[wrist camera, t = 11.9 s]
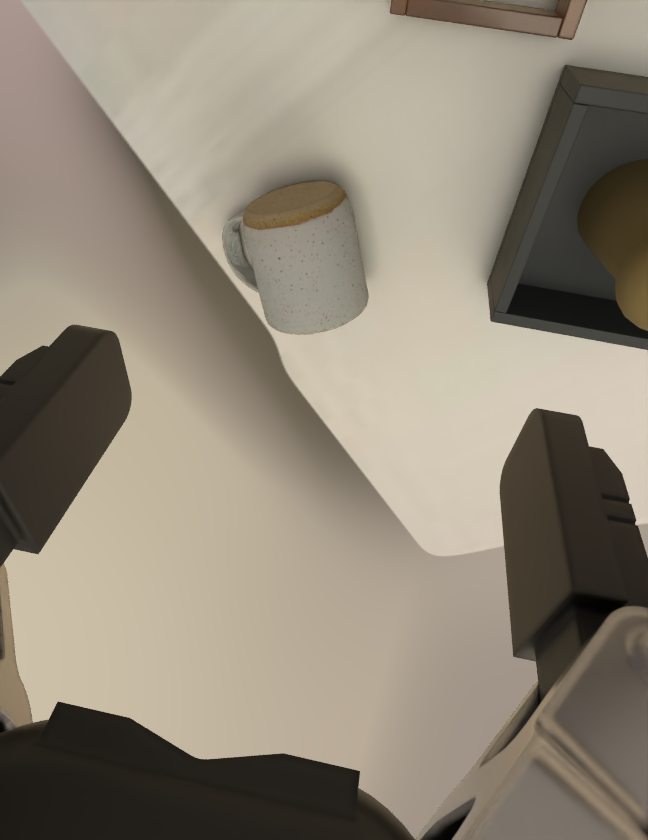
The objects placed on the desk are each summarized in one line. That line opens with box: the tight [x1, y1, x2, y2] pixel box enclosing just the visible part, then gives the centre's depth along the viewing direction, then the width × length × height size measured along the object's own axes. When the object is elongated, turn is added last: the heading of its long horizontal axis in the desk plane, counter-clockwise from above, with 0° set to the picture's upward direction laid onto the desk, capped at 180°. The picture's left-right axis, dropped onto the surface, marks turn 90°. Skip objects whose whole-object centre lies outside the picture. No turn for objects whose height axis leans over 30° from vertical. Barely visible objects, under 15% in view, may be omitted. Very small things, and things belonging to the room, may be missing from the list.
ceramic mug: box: [222, 181, 368, 335], centre depth 36 cm, size 11×8×8 cm
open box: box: [487, 65, 648, 350], centre depth 31 cm, size 14×14×5 cm
